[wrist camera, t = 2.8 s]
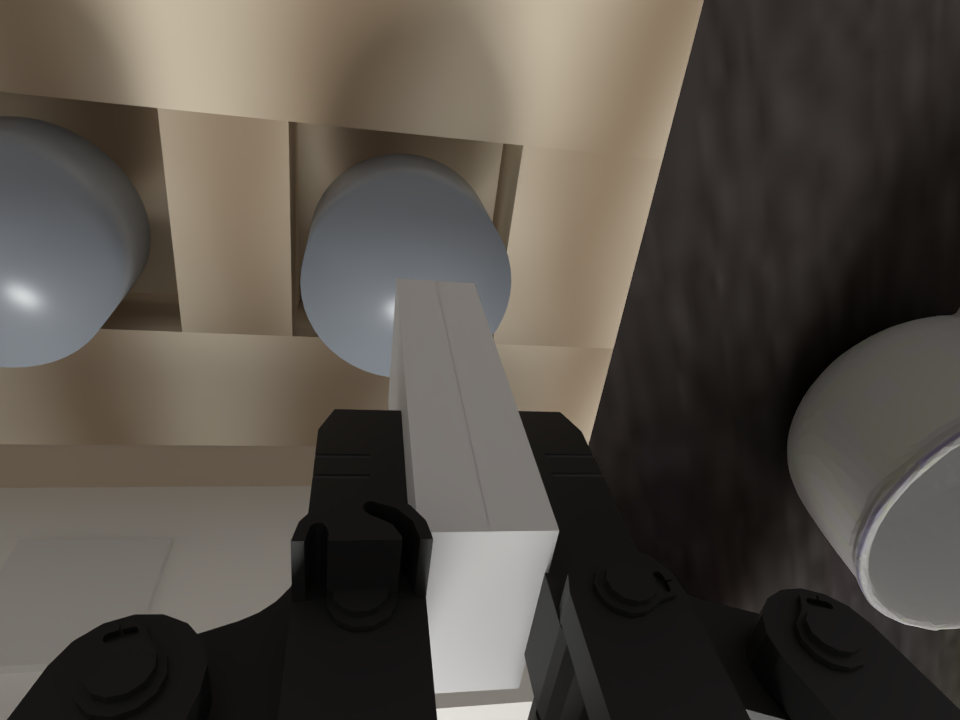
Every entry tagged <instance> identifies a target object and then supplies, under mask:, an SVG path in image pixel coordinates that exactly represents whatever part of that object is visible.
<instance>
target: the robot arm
mask: <svg viewBox="0 0 960 720" xmlns="http://www.w3.org/2000/svg"><path fill="white" fill-rule="evenodd" d="M388 404H389V410H356V409H334V411H333V412H332V413H331V414H330V415H329V417H328V418H327V419H326V420H325V422H324V423H323V424H322V425H321V426H320V428H319V429H318V435H317V443H316V451H315V460H314V468H313V479H312V485H311V493H310V502H309V510H308V514H307V515H306V516H304V517H303V518H302V519H301V520H300V521H299V522H298V525H297V527H296V530H295V532H294V534H293V537H292V539H291V580H292V585H291V586H290V588H289V589H288V590H287V591H286V592H285V593H284V594H283V595H282V596H281V597H280V598H279V599H278V600H277V601H276V602H274V603H273V604H271V605H270V606H268V607H266V608H265V609H263V610H262V611H260V612H259V613H256V614H254V615H252V616H249V617H247V618H244V619H242V620H240V621H237V622H234V623H230V624H227V625H224V626H221V627H218V628H214V629H211V630H208V631H205V632H202V633H199V634H197V633H196V632H195V631H194V630H193V628H192V627H191V626H190V625H189V624H188V623H186V622H183V621H181V620H178V619H175V618H173V617H170V616H167V615H165V614H134V615H131V616H127V617H124V618H120V619H117V620H113V621H110V622H107V623H103V624H101V625H100V626H98V627H96V628H94V629H93V630H91V631H89V632H88V633H86V634H84V635H82V636H81V637H79V638H77V639H76V640H74V641H72V642H71V643H70V644H69V645H68V646H67V647H66V648H65V649H64V650H63V651H62V652H61V653H60V654H59V655H58V656H57V657H56V658H55V659H54V660H53V661H52V662H51V663H50V664H49V665H48V666H47V667H46V669H45V670H44V671H43V673H42V674H41V675H40V677H39V678H38V679H37V681H36V682H35V683H34V684H33V686H32V687H31V688H30V690H29V691H28V692H27V694H26V695H25V696H24V698H23V699H22V700H21V702H20V703H19V704H18V706H17V707H16V708H15V710H14V711H13V712H12V714H11V715H10V716H9V717H8V719H7V720H437V711H436V701H435V694H436V693H452V692H468V691H485V690H501V689H517V688H519V687H520V683H521V679H522V675H523V671H524V667H525V663H526V664H527V669H528V673H529V677H530V682H531V686H532V691H533V695H534V698H533V702H532V705H531V709H530V713H529V716H528V720H960V709H959V708H958V707H957V706H956V705H954V704H953V703H952V702H951V701H950V700H949V699H948V698H947V697H946V696H945V695H944V694H943V693H942V692H941V691H940V690H939V689H938V688H937V687H936V686H935V685H934V684H933V683H932V682H931V681H930V680H929V679H928V678H926V677H925V676H924V675H923V674H922V673H921V672H920V671H919V670H918V669H917V668H916V667H915V666H914V665H913V664H912V663H911V662H910V661H909V660H908V659H907V658H906V657H905V656H904V655H903V654H902V653H901V652H900V651H898V650H897V649H896V648H895V647H894V646H893V645H892V644H891V643H890V642H889V641H888V640H887V639H886V638H885V637H884V636H883V635H882V634H881V633H880V632H879V631H878V630H877V629H876V628H875V627H874V626H873V625H872V624H870V623H869V622H868V621H867V620H865V619H864V618H863V617H861V616H860V615H859V614H858V613H856V612H855V611H854V610H852V609H851V608H850V607H849V606H847V605H845V604H843V603H841V602H839V601H837V600H835V599H833V598H831V597H829V596H827V595H825V594H821V593H817V592H813V591H809V590H805V589H787V590H780V591H779V592H777V593H775V594H774V595H772V596H771V597H769V598H768V599H767V601H766V603H765V604H764V606H763V608H762V610H761V612H760V614H758V613H754V612H750V611H746V610H741V609H737V608H733V607H729V606H725V605H721V604H717V603H713V602H709V601H706V600H703V599H700V598H697V597H694V596H691V595H688V594H686V592H685V590H684V588H683V587H682V586H681V584H680V583H679V582H678V580H677V579H676V578H675V576H674V575H673V574H672V572H671V571H670V570H669V569H667V568H666V567H665V566H663V565H662V564H661V563H659V562H658V561H657V560H655V559H654V558H653V557H651V556H649V555H646V554H644V553H641V552H639V551H638V550H637V548H636V546H635V544H634V542H633V540H632V538H631V536H630V533H629V531H628V529H627V527H626V525H625V523H624V521H623V518H622V516H621V514H620V512H619V510H618V508H617V506H616V504H615V501H614V499H613V497H612V495H611V493H610V491H609V489H608V487H607V484H606V482H605V480H604V478H601V472H600V470H599V467H598V465H597V463H596V461H595V459H592V452H591V450H590V448H589V446H588V444H587V442H586V440H585V438H584V435H583V433H582V431H581V430H579V429H578V428H577V427H576V426H575V425H574V424H573V423H572V422H571V421H570V420H569V419H567V418H566V417H565V416H564V415H563V414H562V413H561V412H542V411H518V409H517V406H516V403H515V400H514V397H513V394H512V392H511V389H510V386H509V383H508V380H507V377H506V374H505V371H504V368H503V365H502V362H501V360H500V357H499V354H498V351H497V348H496V345H495V342H494V339H493V336H492V333H491V330H490V328H489V325H488V322H487V319H486V316H485V313H484V310H483V307H482V304H481V301H480V298H479V296H478V293H477V290H476V287H475V284H474V283H463V282H447V281H431V280H414V279H398V278H396V293H395V307H394V322H393V337H392V351H391V366H390V381H389V395H388Z"/></svg>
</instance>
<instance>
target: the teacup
mask: <svg viewBox="0 0 960 720" xmlns="http://www.w3.org/2000/svg"><path fill="white" fill-rule="evenodd" d="M787 461H788V468H789V472H790V476H791V479H792V482H793V484H794V487H795V489H796V491H797V494H798V496H799V497H800V499H801V501H802V503H803V504H804V506H805V508H806V509H807V511H808V512H809V514H810V515H811V517H812V518H813V520H814V521H815V523H816V524H817V526H818V527H819V529H820V530H821V531H822V533H823V534H824V535H825V537H826V538H827V540H828V541H829V542H830V544H831V545H832V546H833V548H834V549H835V551H836V552H837V553H838V555H839V556H840V557H841V558H842V560H843V561H844V562H845V564H846V565H847V566H848V568H849V569H850V570H851V571H852V573H853V574H854V575H855V577H856V578H857V581H858V584H859V586H860V588H861V590H862V592H863V594H864V595H865V597H866V598H867V600H868V602H869V603H870V604H871V605H872V606H873V607H874V608H876V609H877V610H878V611H879V612H881V613H882V614H884V615H886V616H887V617H889V618H891V619H894V620H896V621H898V622H901V623H903V624H905V625H911V626H916V627H920V628H924V629H929V630H935V631H936V630H940V629H957V628H960V308H959V309H958V311H957V312H956V314H953V315H944V316H934V317H927V318H921V319H916V320H912V321H909V322H905V323H902V324H898V325H895V326H893V327H890V328H887V329H885V330H883V331H881V332H879V333H876V334H874V335H872V336H870V337H868V338H867V339H865V340H863V341H862V342H860V343H858V344H857V345H855V346H853V347H852V348H850V349H849V350H847V351H846V352H845V353H843V354H842V355H840V356H839V357H838V358H837V359H836V360H834V361H833V362H832V363H831V364H830V365H829V366H828V367H827V368H826V369H825V370H824V371H823V372H822V373H821V375H820V376H819V377H818V378H817V379H816V380H815V382H814V383H813V384H812V385H811V386H810V388H809V389H808V391H807V392H806V394H805V396H804V397H803V399H802V400H801V402H800V404H799V406H798V408H797V410H796V412H795V415H794V417H793V420H792V423H791V427H790V430H789V435H788V441H787Z"/></svg>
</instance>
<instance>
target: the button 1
mask: <svg viewBox="0 0 960 720" xmlns="http://www.w3.org/2000/svg"><path fill="white" fill-rule="evenodd" d="M396 278H398V279H414V280H431V281H447V282H463V283H474V284H475V287H476V290H477V293H478V296H479V298H480V301H481V304H482V307H483V310H484V313H485V316H486V319H487V322H488V325H489V328H490V330H491V333H492V335H493V334H494V333H495V331H496V330H497V328H498V326H499V325H500V323H501V321H502V319H503V317H504V314H505V312H506V309H507V306H508V302H509V298H510V292H511V268H510V262H509V257H508V254H507V251H506V248H505V245H504V243H503V241H502V239H501V237H500V235H499V233H498V232H497V230H496V228H495V226H494V224H493V222H492V221H491V219H490V217H489V215H488V213H487V211H486V210H485V208H484V206H483V204H482V202H481V201H480V199H479V197H478V196H477V194H476V193H475V191H474V190H473V188H472V187H471V186H470V185H469V184H468V183H467V182H466V180H465V179H464V178H462V177H461V176H460V175H459V174H458V173H456V172H455V171H454V170H452V169H451V168H449V167H447V166H446V165H444V164H442V163H440V162H438V161H435V160H433V159H430V158H427V157H423V156H419V155H413V154H398V153H396V154H386V155H380V156H376V157H372V158H369V159H367V160H364V161H362V162H359V163H357V164H356V165H354V166H352V167H350V168H349V169H347V170H346V171H345V172H343V173H342V174H341V175H339V176H338V177H337V178H336V179H335V180H334V181H333V182H332V183H331V184H330V185H329V187H328V188H327V189H326V191H325V192H324V193H323V195H322V197H321V199H320V200H319V202H318V204H317V206H316V209H315V212H314V215H313V218H312V223H311V227H310V232H309V236H308V241H307V245H306V250H305V254H304V259H303V264H302V268H301V280H300V285H301V296H302V301H303V305H304V309H305V312H306V314H307V317H308V319H309V321H310V323H311V325H312V327H313V329H314V330H315V332H316V333H317V335H318V336H319V337H320V339H321V340H322V341H323V342H324V343H325V345H326V346H327V347H328V348H329V349H330V350H331V351H333V352H334V353H335V354H336V355H338V356H339V357H340V358H341V359H343V360H345V361H346V362H348V363H349V364H351V365H353V366H355V367H357V368H359V369H362V370H364V371H367V372H370V373H373V374H376V375H381V376H386V377H390V366H391V351H392V337H393V322H394V307H395V293H396Z"/></svg>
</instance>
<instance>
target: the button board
mask: <svg viewBox="0 0 960 720" xmlns="http://www.w3.org/2000/svg"><path fill="white" fill-rule="evenodd" d="M703 1H704V0H0V116H20V117H27V118H33V119H38V120H42V121H45V122H49V123H53V124H55V125H58V126H60V127H63V128H65V129H68V130H70V131H72V132H74V133H76V134H78V135H79V136H81V137H83V138H85V139H86V140H88V141H89V142H91V143H92V144H94V145H95V146H97V147H98V148H99V149H100V150H102V151H103V152H104V153H105V154H107V155H108V156H109V157H110V158H111V159H112V160H113V161H114V162H115V163H116V164H117V165H118V166H119V167H120V168H121V169H122V170H123V172H124V173H125V174H126V175H127V177H128V178H129V179H130V181H131V182H132V184H133V185H134V187H135V188H136V190H137V192H138V194H139V196H140V198H141V200H142V202H143V204H144V207H145V210H146V213H147V216H148V220H149V225H150V236H151V243H150V252H149V256H148V260H147V263H146V266H145V268H144V270H143V272H142V274H141V275H140V277H139V278H138V280H137V281H136V283H135V284H134V285H133V287H132V288H131V289H130V291H129V292H128V293H127V294H126V296H125V297H124V298H123V300H122V301H121V302H120V304H119V305H118V306H117V307H116V309H115V310H114V311H113V313H112V314H111V315H110V316H109V318H108V319H107V320H106V322H105V323H104V324H103V326H102V327H101V328H100V329H99V331H98V332H97V333H96V334H95V336H94V337H93V338H92V339H91V340H90V341H89V342H88V343H87V344H85V345H84V346H83V347H81V348H80V349H79V350H77V351H76V352H74V353H72V354H70V355H68V356H67V357H64V358H62V359H59V360H57V361H54V362H50V363H46V364H42V365H38V366H30V367H13V368H7V367H0V444H43V445H218V446H316V443H317V435H318V429H319V428H320V426H321V425H322V424H323V423H324V422H325V420H326V419H327V418H328V417H329V415H330V414H331V413H332V412H333V411H334V409H356V410H389V404H388V395H389V381H390V377H386V376H381V375H376V374H373V373H370V372H367V371H364V370H362V369H359V368H357V367H355V366H353V365H351V364H349V363H348V362H346V361H345V360H343V359H341V358H340V357H339V356H338V355H336V354H335V353H334V352H333V351H331V350H330V349H329V348H328V347H327V346H326V345H325V343H324V342H323V341H322V340H321V339H320V337H319V336H318V335H317V333H316V332H315V330H314V329H313V327H312V325H311V323H310V321H309V319H308V317H307V314H306V312H305V309H304V305H303V301H302V296H301V285H300V280H301V268H302V264H303V259H304V254H305V250H306V245H307V241H308V236H309V232H310V227H311V223H312V218H313V215H314V212H315V209H316V206H317V204H318V202H319V200H320V199H321V197H322V195H323V193H324V192H325V191H326V189H327V188H328V187H329V185H330V184H331V183H332V182H333V181H334V180H335V179H336V178H337V177H338V176H339V175H341V174H342V173H343V172H345V171H346V170H347V169H349V168H350V167H352V166H354V165H356V164H357V163H359V162H362V161H364V160H367V159H369V158H372V157H376V156H380V155H386V154H396V153H398V154H413V155H419V156H423V157H427V158H430V159H433V160H435V161H438V162H440V163H442V164H444V165H446V166H447V167H449V168H451V169H452V170H454V171H455V172H456V173H458V174H459V175H460V176H461V177H462V178H464V179H465V180H466V182H467V183H468V184H469V185H470V186H471V187H472V188H473V190H474V191H475V193H476V194H477V196H478V197H479V199H480V201H481V202H482V204H483V206H484V208H485V210H486V211H487V213H488V215H489V217H490V219H491V221H492V222H493V224H494V226H495V228H496V230H497V232H498V233H499V235H500V237H501V239H502V241H503V243H504V245H505V248H506V251H507V254H508V257H509V262H510V268H511V292H510V298H509V302H508V306H507V309H506V312H505V314H504V317H503V319H502V321H501V323H500V325H499V326H498V328H497V330H496V331H495V333H494V334H493V335H492V336H493V339H494V342H495V345H496V348H497V351H498V354H499V357H500V360H501V362H502V365H503V368H504V371H505V374H506V377H507V380H508V383H509V386H510V389H511V392H512V394H513V397H514V400H515V403H516V406H517V409H518V411H542V412H561V413H562V414H563V415H564V416H565V417H566V418H567V419H569V420H570V421H571V422H572V423H573V424H574V425H575V426H576V427H577V428H578V429H579V430H581V431H582V433H583V435H584V438H585V440H586V442H587V444H588V445H589V441H590V437H591V433H592V429H593V425H594V421H595V418H596V414H597V410H598V406H599V402H600V398H601V394H602V391H603V387H604V383H605V379H606V375H607V371H608V367H609V364H610V360H611V356H612V352H613V348H614V344H615V341H616V337H617V333H618V329H619V325H620V321H621V317H622V314H623V310H624V306H625V302H626V298H627V294H628V290H629V287H630V283H631V279H632V275H633V271H634V267H635V263H636V260H637V256H638V252H639V248H640V244H641V240H642V236H643V233H644V229H645V225H646V221H647V217H648V213H649V210H650V206H651V202H652V198H653V194H654V190H655V186H656V183H657V179H658V175H659V171H660V167H661V163H662V159H663V156H664V152H665V148H666V144H667V140H668V136H669V132H670V129H671V125H672V121H673V117H674V113H675V109H676V105H677V102H678V98H679V94H680V90H681V86H682V82H683V79H684V75H685V71H686V67H687V63H688V59H689V55H690V52H691V48H692V44H693V40H694V36H695V32H696V28H697V25H698V21H699V17H700V13H701V9H702V5H703Z"/></svg>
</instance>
